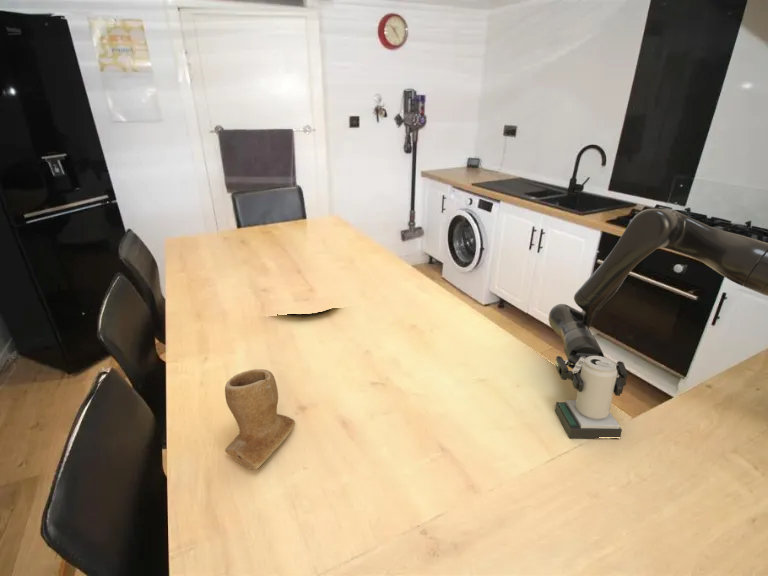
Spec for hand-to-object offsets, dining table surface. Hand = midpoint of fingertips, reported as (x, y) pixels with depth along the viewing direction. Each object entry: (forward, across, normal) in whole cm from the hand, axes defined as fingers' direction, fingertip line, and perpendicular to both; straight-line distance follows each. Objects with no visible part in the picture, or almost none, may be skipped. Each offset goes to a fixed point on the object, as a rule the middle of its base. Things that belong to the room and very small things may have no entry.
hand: (599, 389), depth 82 cm
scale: (-2, -1, +10) cm, 10 cm away
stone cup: (+17, -68, +10) cm, 70 cm away
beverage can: (-2, 0, +7) cm, 8 cm away
